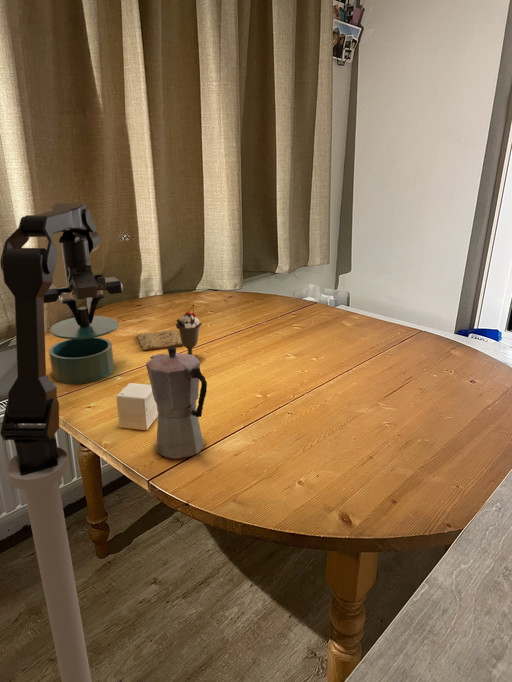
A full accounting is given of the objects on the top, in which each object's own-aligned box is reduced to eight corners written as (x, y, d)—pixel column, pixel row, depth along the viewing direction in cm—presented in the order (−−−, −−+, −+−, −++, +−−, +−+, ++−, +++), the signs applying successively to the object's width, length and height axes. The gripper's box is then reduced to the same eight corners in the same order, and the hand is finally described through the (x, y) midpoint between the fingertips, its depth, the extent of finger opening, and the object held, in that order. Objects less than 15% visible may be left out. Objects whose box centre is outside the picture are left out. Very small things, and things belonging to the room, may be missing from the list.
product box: (147, 431, 99) (144, 398, 97) (118, 428, 100) (115, 395, 98) (158, 416, 105) (156, 384, 102) (131, 413, 106) (128, 382, 103)
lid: (58, 346, 111) (54, 322, 109) (45, 326, 123) (42, 304, 121) (126, 334, 118) (124, 311, 116) (108, 316, 131) (106, 295, 129)
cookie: (186, 345, 142) (185, 342, 142) (143, 350, 138) (142, 347, 137) (176, 331, 152) (176, 328, 152) (136, 336, 148) (135, 333, 148)
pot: (59, 389, 116) (55, 363, 114) (48, 366, 128) (44, 342, 126) (121, 375, 123) (118, 351, 121) (105, 355, 135) (102, 332, 133)
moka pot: (173, 423, 102) (168, 332, 95) (229, 451, 93) (228, 352, 86) (136, 443, 95) (127, 346, 88) (192, 475, 86) (187, 370, 79)
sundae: (205, 355, 135) (203, 302, 130) (200, 365, 129) (198, 310, 124) (181, 354, 136) (178, 301, 130) (175, 364, 130) (172, 309, 124)
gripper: (39, 271, 104) (50, 341, 109) (127, 262, 113) (133, 327, 118) (31, 261, 113) (41, 326, 118) (113, 253, 122) (119, 314, 127)
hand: (84, 324), depth 120 cm, fingers closed on lid, 2 cm apart
